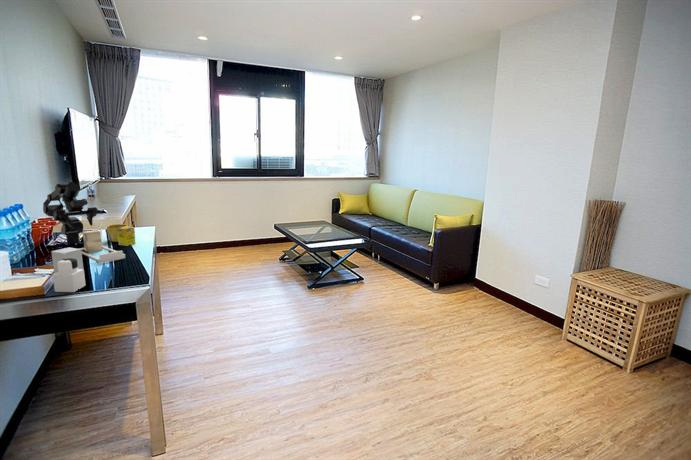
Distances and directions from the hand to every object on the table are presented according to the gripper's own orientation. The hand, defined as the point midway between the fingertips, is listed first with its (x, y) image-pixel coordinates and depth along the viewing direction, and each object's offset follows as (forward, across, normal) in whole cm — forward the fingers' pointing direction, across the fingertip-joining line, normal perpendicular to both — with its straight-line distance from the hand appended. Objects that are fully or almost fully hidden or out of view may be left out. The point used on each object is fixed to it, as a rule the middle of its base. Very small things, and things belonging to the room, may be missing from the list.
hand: (82, 226), depth 186 cm
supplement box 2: (+16, +17, +2) cm, 23 cm away
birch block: (+15, 0, 0) cm, 15 cm away
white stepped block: (+48, -26, -31) cm, 63 cm away
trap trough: (+21, 0, -4) cm, 21 cm away
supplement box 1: (+39, -22, -23) cm, 50 cm away
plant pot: (+8, +18, +10) cm, 22 cm away
